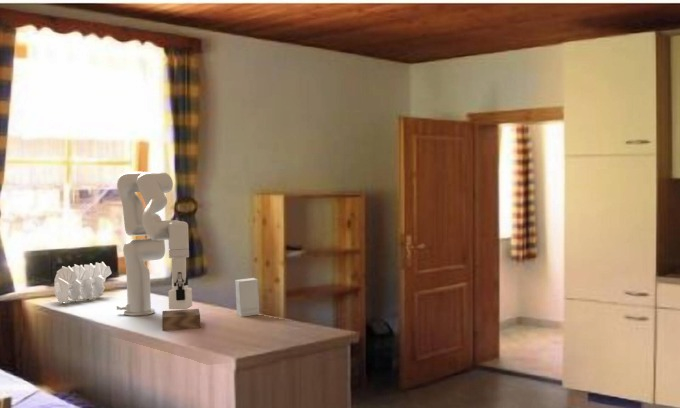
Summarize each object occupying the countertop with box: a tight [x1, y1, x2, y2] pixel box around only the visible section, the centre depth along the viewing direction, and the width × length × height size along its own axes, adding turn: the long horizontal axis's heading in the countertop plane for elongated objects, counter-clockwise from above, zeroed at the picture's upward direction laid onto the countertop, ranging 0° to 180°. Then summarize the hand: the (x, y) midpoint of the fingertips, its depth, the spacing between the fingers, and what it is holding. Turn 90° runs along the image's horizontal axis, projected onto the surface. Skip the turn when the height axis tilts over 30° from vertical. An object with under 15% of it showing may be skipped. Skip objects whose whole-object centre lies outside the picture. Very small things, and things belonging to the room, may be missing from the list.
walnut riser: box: [161, 308, 201, 332], centre depth 282 cm, size 14×14×5 cm
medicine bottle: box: [167, 276, 193, 310], centre depth 281 cm, size 7×7×12 cm
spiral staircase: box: [53, 261, 112, 303], centre depth 350 cm, size 18×18×25 cm
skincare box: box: [234, 277, 260, 318], centre depth 301 cm, size 8×6×15 cm
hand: (180, 298), depth 281 cm, fingers closed on medicine bottle, 8 cm apart
